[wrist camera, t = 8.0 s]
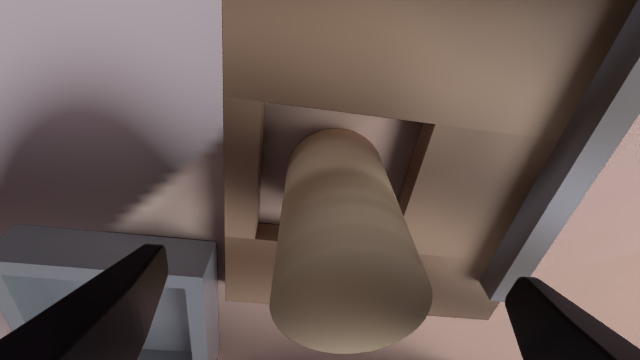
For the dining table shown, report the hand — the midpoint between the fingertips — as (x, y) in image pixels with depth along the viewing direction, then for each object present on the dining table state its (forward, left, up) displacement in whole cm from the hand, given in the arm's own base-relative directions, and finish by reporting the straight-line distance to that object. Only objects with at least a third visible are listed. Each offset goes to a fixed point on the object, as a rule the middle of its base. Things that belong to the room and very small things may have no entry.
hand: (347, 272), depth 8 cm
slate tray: (-8, +9, -5) cm, 13 cm away
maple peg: (0, 0, -5) cm, 5 cm away
